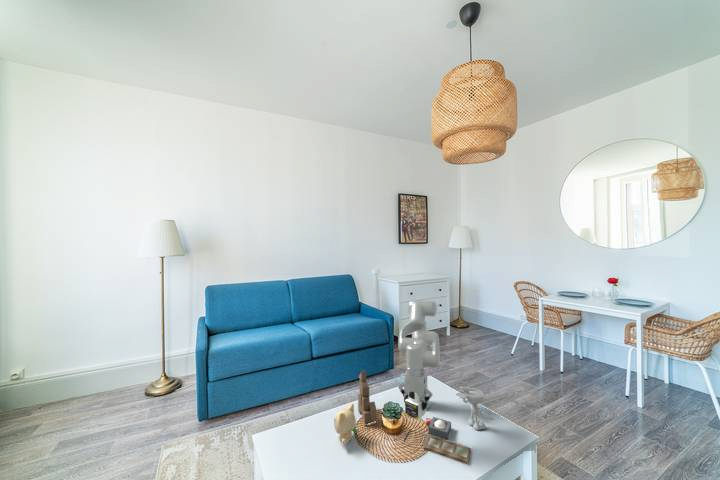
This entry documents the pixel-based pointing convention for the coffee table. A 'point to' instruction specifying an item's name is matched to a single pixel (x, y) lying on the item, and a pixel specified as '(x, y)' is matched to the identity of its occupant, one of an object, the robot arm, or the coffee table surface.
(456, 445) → the board
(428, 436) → the frame
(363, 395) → the wooden toy
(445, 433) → the dome housing
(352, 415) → the kitten
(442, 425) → the dome
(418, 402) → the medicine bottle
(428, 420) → the red die
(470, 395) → the cartoon character
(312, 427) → the coffee table surface
